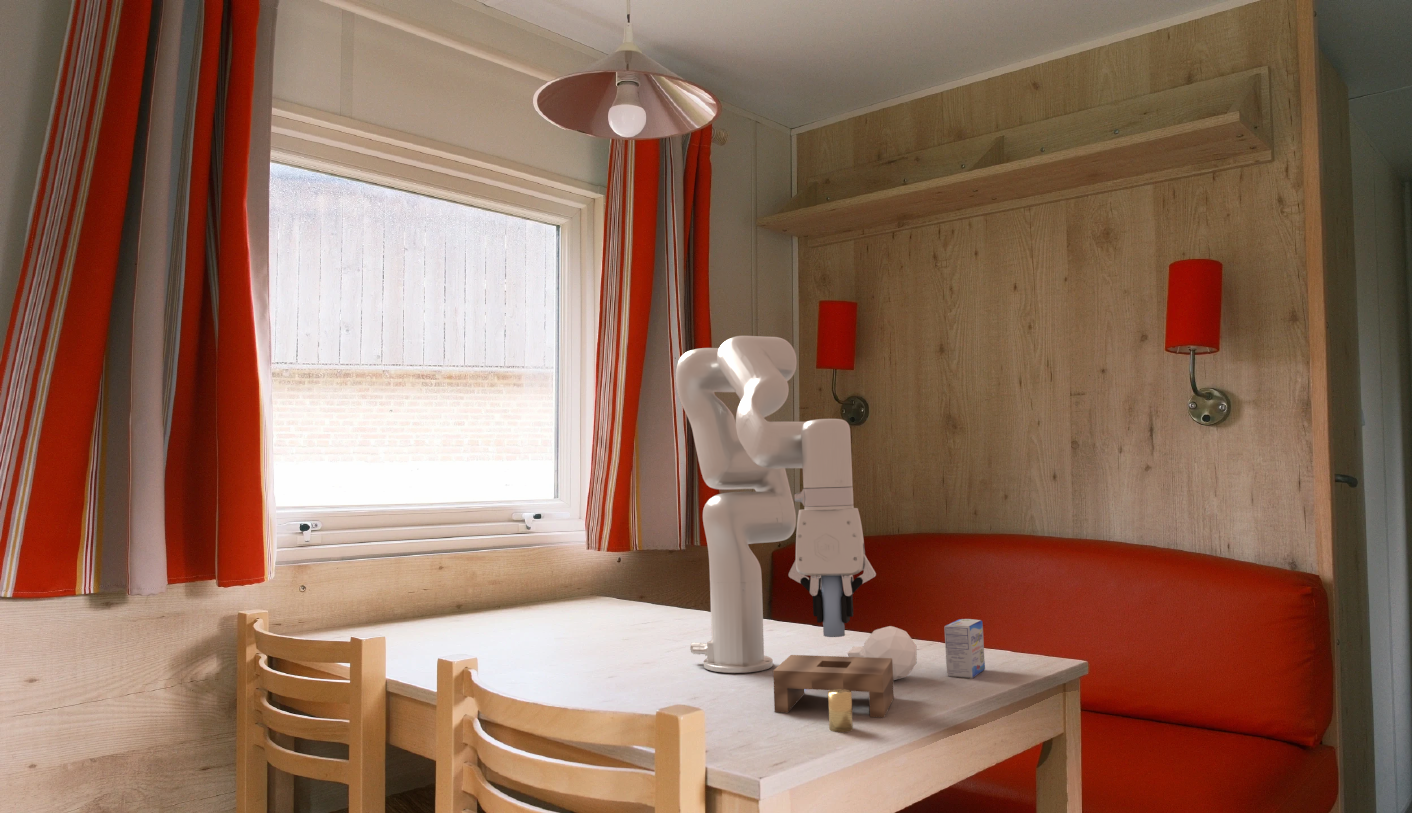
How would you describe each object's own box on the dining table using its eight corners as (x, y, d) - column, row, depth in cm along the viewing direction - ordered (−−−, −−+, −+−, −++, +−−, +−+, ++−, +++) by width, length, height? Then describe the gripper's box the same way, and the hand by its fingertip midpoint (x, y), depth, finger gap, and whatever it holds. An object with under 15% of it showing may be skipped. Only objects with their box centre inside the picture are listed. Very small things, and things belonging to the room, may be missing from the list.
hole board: (774, 711, 138) (773, 670, 139) (792, 692, 150) (790, 654, 150) (884, 717, 133) (882, 674, 134) (893, 697, 145) (892, 658, 145)
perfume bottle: (932, 664, 159) (869, 666, 166) (916, 615, 158) (854, 618, 165) (913, 690, 152) (848, 691, 159) (896, 638, 151) (833, 641, 159)
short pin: (827, 731, 127) (826, 693, 128) (831, 725, 130) (830, 688, 131) (850, 732, 126) (849, 694, 127) (854, 726, 129) (853, 689, 130)
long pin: (821, 636, 141) (819, 576, 142) (825, 633, 144) (823, 574, 145) (842, 637, 140) (840, 576, 141) (846, 633, 143) (843, 574, 144)
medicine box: (972, 679, 156) (970, 626, 157) (946, 676, 159) (943, 624, 159) (985, 670, 163) (983, 619, 164) (960, 667, 165) (957, 617, 166)
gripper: (770, 501, 143) (775, 624, 141) (879, 499, 138) (885, 626, 136) (781, 500, 150) (786, 617, 148) (885, 497, 145) (891, 618, 143)
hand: (833, 620), depth 142 cm, fingers closed on long pin, 3 cm apart
